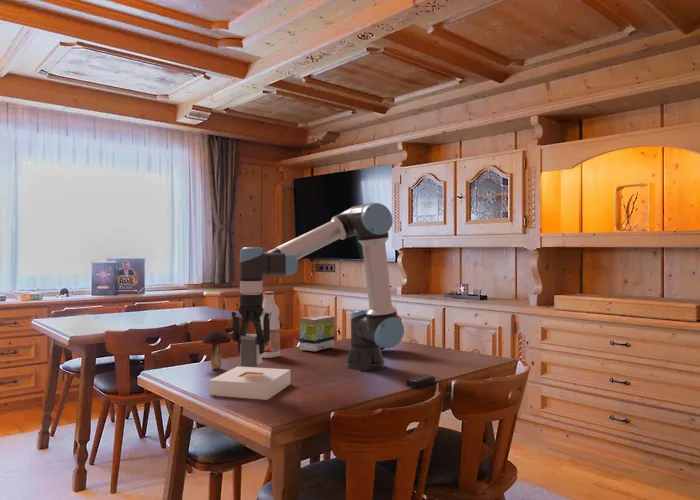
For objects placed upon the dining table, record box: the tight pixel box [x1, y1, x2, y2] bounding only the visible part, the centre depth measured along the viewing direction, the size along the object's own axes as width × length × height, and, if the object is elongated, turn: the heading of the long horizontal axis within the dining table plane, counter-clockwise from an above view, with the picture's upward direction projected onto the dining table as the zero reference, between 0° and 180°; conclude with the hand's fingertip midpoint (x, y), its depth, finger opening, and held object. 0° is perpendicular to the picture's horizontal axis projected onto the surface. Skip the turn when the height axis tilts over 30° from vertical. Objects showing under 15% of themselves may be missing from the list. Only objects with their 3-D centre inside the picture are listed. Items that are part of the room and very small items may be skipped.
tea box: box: [299, 314, 336, 352], centre depth 249 cm, size 15×10×15 cm, turn 148°
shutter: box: [241, 373, 263, 378], centre depth 178 cm, size 6×6×1 cm
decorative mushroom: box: [201, 330, 232, 370], centre depth 207 cm, size 11×11×15 cm
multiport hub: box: [405, 374, 436, 390], centre depth 185 cm, size 4×11×2 cm, turn 134°
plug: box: [240, 333, 262, 368], centre depth 177 cm, size 5×5×10 cm
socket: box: [208, 366, 291, 401], centre depth 178 cm, size 20×20×5 cm
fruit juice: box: [260, 290, 281, 359], centre depth 232 cm, size 9×9×28 cm
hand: (251, 362), depth 177 cm, fingers closed on plug, 5 cm apart
